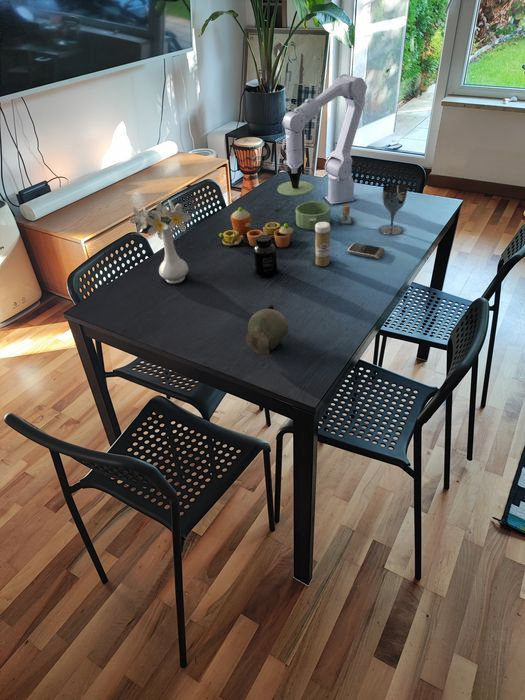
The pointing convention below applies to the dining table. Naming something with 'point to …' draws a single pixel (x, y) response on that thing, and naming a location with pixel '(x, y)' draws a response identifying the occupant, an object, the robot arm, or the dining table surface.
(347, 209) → the masher
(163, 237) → the flower vase
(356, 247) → the cell phone
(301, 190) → the pot lid
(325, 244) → the sprinkles bottle
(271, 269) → the supplement bottle
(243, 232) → the toy tea set
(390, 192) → the wine glass
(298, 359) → the dining table surface
